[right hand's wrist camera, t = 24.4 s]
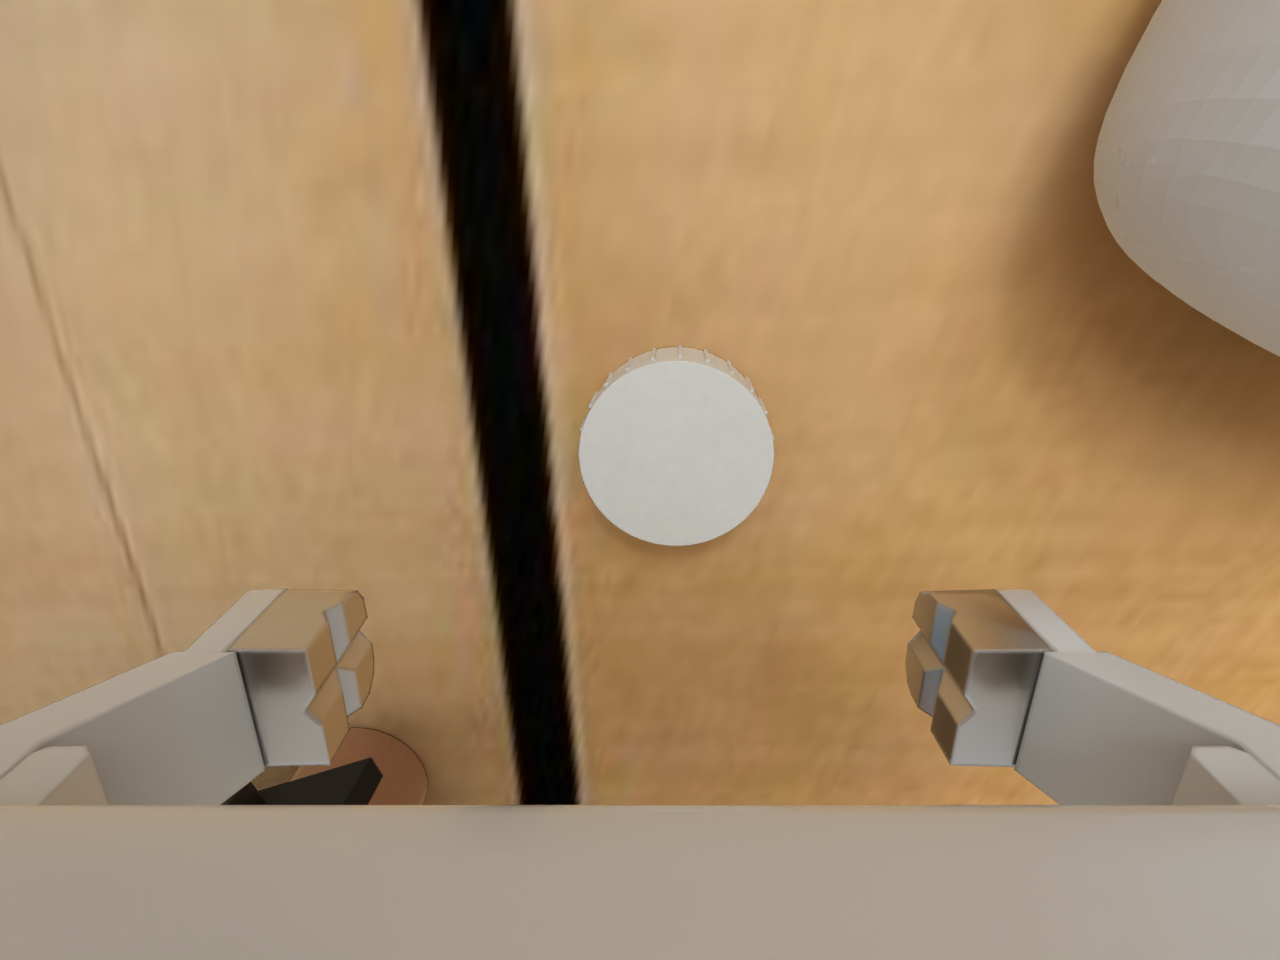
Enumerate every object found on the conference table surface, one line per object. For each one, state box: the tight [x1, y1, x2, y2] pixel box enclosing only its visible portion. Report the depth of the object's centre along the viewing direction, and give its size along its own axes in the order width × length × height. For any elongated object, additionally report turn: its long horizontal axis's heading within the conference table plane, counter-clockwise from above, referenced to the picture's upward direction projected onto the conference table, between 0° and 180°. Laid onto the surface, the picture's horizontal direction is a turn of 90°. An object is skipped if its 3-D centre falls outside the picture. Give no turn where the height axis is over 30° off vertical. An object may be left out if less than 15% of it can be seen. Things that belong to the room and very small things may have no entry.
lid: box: [578, 345, 774, 546], centre depth 21 cm, size 6×6×2 cm
